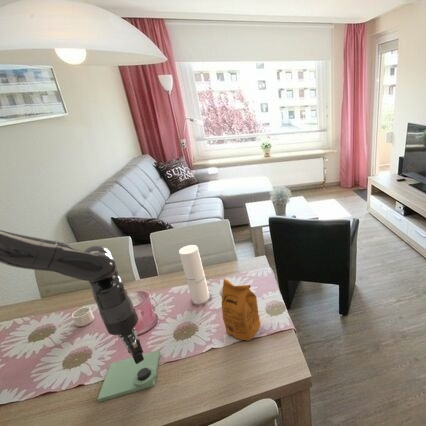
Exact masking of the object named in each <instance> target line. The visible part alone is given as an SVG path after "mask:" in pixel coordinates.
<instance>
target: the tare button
mask: <svg viewBox="0 0 426 426" xmlns="http://www.w3.org/2000/svg"><path fill="white" fill-rule="evenodd" d="M137 376H138V378H139V380H141V381H142V380H145V379H147V378H148V377H149V376H150V371H149V369H148V368H143V369H141V370H140V371H139V372H138V374H137Z"/></svg>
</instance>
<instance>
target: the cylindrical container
mask: <svg viewBox="0 0 426 426" xmlns="http://www.w3.org/2000/svg"><path fill="white" fill-rule="evenodd" d="M178 255H179V257H180V262H181V265H182V269H183V272H184V276H185V279H186V282H187V283H186V284H187V287H188V291H189V293H190V297H191V301H192V303H193V304H194V305H201V304H204V303H206V302H207V301H208V300H209V299H210V292H209V288H208V283H207V279H206V275H205V271H204V267H203V262H202V259H201V256H200V255H201V254H200V250H199V247H198V245H196V244H189V245H185V246H183V247H181V248H180V249H179V250H178Z"/></svg>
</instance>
